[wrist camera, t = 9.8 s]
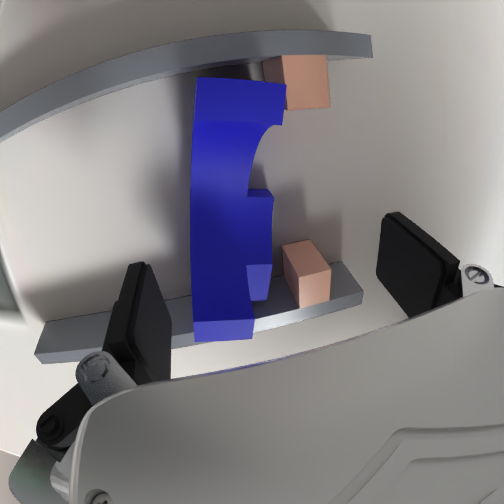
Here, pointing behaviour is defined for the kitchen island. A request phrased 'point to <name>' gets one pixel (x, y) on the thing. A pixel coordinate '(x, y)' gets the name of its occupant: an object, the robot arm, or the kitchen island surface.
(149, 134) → the kitchen island surface
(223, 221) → the cable clip
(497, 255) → the kitchen island surface
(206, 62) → the guide channel
